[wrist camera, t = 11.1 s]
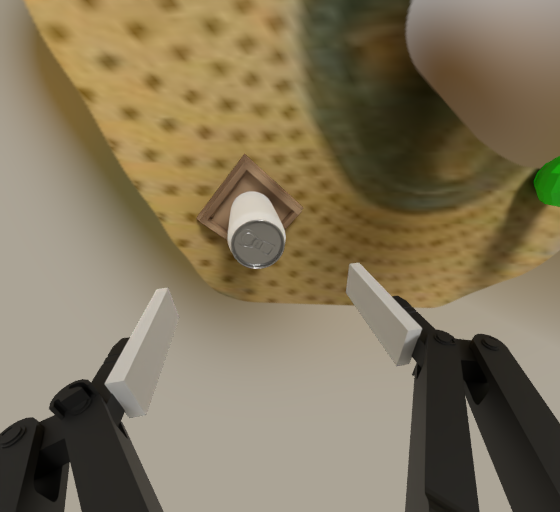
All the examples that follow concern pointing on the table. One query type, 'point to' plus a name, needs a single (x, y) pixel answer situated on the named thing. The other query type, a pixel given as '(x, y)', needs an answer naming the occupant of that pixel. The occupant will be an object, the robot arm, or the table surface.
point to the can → (255, 231)
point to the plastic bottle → (549, 183)
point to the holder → (241, 181)
